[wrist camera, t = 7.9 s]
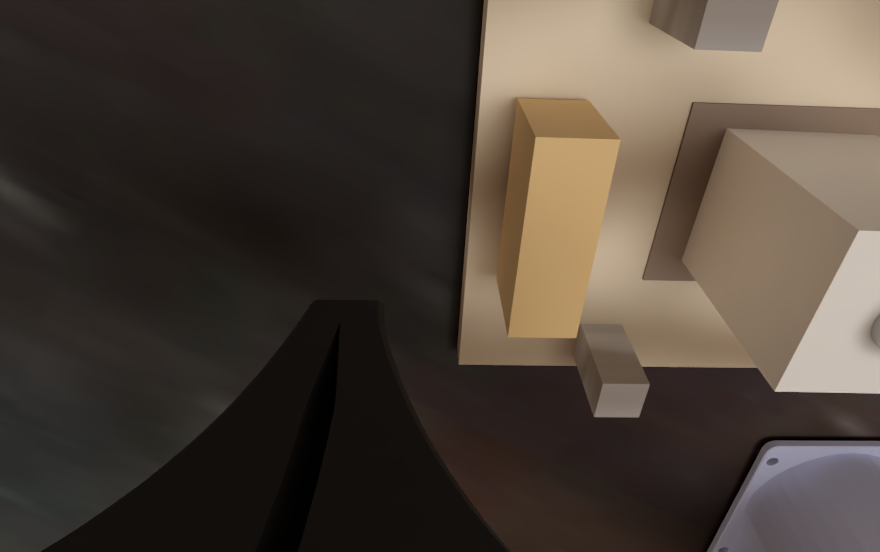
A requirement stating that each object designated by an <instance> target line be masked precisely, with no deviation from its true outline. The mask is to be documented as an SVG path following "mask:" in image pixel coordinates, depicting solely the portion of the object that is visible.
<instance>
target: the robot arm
mask: <svg viewBox="0 0 880 552" xmlns="http://www.w3.org/2000/svg"><path fill="white" fill-rule="evenodd" d="M41 552H510V551H509V549H508V548H507V547H506V546H505V545H504V543H503V542H502V541H501V540H500V539H499V538H498V536H497V535H496V534H495V533H494V532H493V530H492V529H491V528H490V526H489V525H488V524H487V523H486V521H485V520H484V519H483V518H482V516H481V515H480V514H479V512H478V511H477V510H476V509H475V507H474V506H473V505H472V503H471V502H470V500H469V499H468V497H467V496H466V495H465V493H464V492H463V490H462V489H461V487H460V486H459V485H458V483H457V482H456V480H455V479H454V477H453V476H452V475H451V473H450V472H449V470H448V469H447V467H446V466H445V464H444V462H443V461H442V459H441V458H440V456H439V454H438V453H437V451H436V449H435V448H434V446H433V444H432V443H431V441H430V439H429V437H428V435H427V434H426V432H425V430H424V428H423V426H422V424H421V422H420V420H419V419H418V417H417V414H416V412H415V410H414V408H413V406H412V404H411V402H410V400H409V397H408V395H407V393H406V391H405V388H404V386H403V383H402V381H401V379H400V376H399V373H398V370H397V368H396V365H395V362H394V359H393V356H392V353H391V350H390V347H389V343H388V339H387V335H386V331H385V326H384V306H383V305H382V304H381V303H380V302H379V301H367V300H315V301H314V302H313V303H312V304H310V306H309V308H308V309H307V311H306V312H305V314H304V315H303V317H302V318H301V320H300V321H299V322H298V324H297V325H296V327H295V328H294V329H293V331H292V332H291V334H290V335H289V336H288V338H287V339H286V340H285V342H284V343H283V344H282V346H281V347H280V348H279V349H278V350H277V352H276V353H275V354H274V355H273V357H272V358H271V359H270V360H269V362H268V363H267V364H266V365H265V367H264V368H263V369H262V370H261V372H260V373H259V374H258V375H257V376H256V377H255V378H254V379H253V381H252V382H251V383H250V384H249V385H248V386H247V387H246V388H245V389H244V391H243V392H242V393H241V394H240V395H239V396H238V397H237V398H236V399H235V400H234V402H233V403H232V404H231V405H230V406H229V407H228V408H227V409H226V410H225V411H224V412H223V413H222V414H221V415H220V416H219V417H218V418H217V419H216V420H215V421H214V422H213V423H212V424H211V425H210V426H208V427H207V428H206V429H205V430H204V431H203V432H202V433H201V434H200V435H199V436H198V437H197V438H196V439H194V440H193V441H192V442H191V443H190V444H189V445H188V446H186V447H185V448H184V449H183V450H182V451H181V452H179V453H178V454H177V455H176V456H175V457H173V458H172V459H171V460H170V461H169V462H168V463H166V464H165V465H164V466H163V467H162V468H160V469H159V470H158V471H157V472H155V473H154V474H153V475H152V476H150V477H149V478H148V479H147V480H145V481H144V482H143V483H141V484H140V485H139V486H138V487H136V488H135V489H133V490H132V491H131V492H129V493H128V494H126V495H125V496H124V497H122V498H121V499H119V500H118V501H117V502H115V503H114V504H113V505H111V506H110V507H108V508H107V509H106V510H104V511H103V512H101V513H100V514H99V515H97V516H96V517H94V518H93V519H91V520H90V521H88V522H87V523H85V524H84V525H82V526H81V527H79V528H78V529H76V530H75V531H73V532H72V533H70V534H69V535H67V536H65V537H64V538H62V539H61V540H59V541H57V542H56V543H54V544H52V545H51V546H49V547H48V548H46V549H44V550H43V551H41ZM707 552H880V441H796V440H775V441H770V442H767V443H766V444H764V446H763V447H762V448H761V450H760V452H759V454H758V456H757V458H756V460H755V462H754V464H753V465H752V467H751V469H750V471H749V473H748V475H747V477H746V479H745V481H744V482H743V484H742V486H741V488H740V490H739V492H738V494H737V496H736V498H735V499H734V501H733V503H732V505H731V507H730V509H729V511H728V513H727V515H726V516H725V518H724V520H723V522H722V524H721V526H720V528H719V530H718V532H717V534H716V535H715V537H714V539H713V541H712V543H711V545H710V547H709V549H708V551H707Z"/></svg>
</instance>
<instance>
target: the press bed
mask: <svg viewBox="0 0 880 552" xmlns="http://www.w3.org/2000/svg"><path fill="white" fill-rule="evenodd" d="M517 98H526V99H556V100H586V101H590V102H591V103H592V105H593V106H594V107H595V108H596V110H597V111H598V112H599V113H600V115H601V116H602V117H603V118H604V119H605V121H606V122H607V123H608V124H609V126H610V127H611V128H612V129H613V131H614V132H615V133H616V134H617V136H618V137H619V138H620V139H621V141H620V145H619V150H618V154H617V159H616V163H615V168H614V172H613V177H612V181H611V185H610V190H609V194H608V199H607V203H606V208H605V212H604V217H603V221H602V226H601V230H600V234H599V239H598V243H597V248H596V252H595V257H594V261H593V266H592V270H591V274H590V279H589V283H588V288H587V292H586V297H585V301H584V306H583V310H582V315H581V319H580V323H579V328H578V332H577V337H576V338H521V337H508V335H507V330H506V325H505V320H504V315H503V310H502V305H501V300H500V295H499V290H498V285H497V280H496V278H497V269H498V260H499V252H500V243H501V235H502V226H503V218H504V209H505V200H506V192H507V183H508V175H509V166H510V157H511V149H512V140H513V132H514V123H515V114H516V106H517ZM727 128H731V129H753V130H775V131H797V132H819V133H841V134H863V135H877V136H879V137H880V0H484V6H483V19H482V32H481V45H480V58H479V71H478V84H477V97H476V110H475V123H474V136H473V149H472V162H471V175H470V188H469V201H468V214H467V227H466V240H465V253H464V266H463V279H462V292H461V305H460V318H459V331H458V344H457V350H458V362H459V365H550V366H577V368H578V371H579V374H580V377H581V380H582V383H583V386H584V389H585V392H586V395H587V398H588V401H589V404H590V407H591V410H592V413H593V416H594V417H639V415H640V412H641V409H642V406H643V403H644V400H645V397H646V394H647V391H648V388H649V385H650V383H649V381H648V379H647V377H646V375H645V373H644V371H643V368H642V367H731V368H758V367H757V366H756V365H755V363H754V362H753V360H752V359H751V358H750V356H749V355H748V353H747V352H746V351H745V349H744V348H743V346H742V345H741V344H740V342H739V341H738V339H737V338H736V336H735V335H734V334H733V332H732V331H731V329H730V328H729V327H728V325H727V324H726V322H725V321H724V320H723V318H722V317H721V315H720V314H719V313H718V311H717V310H716V308H715V307H714V305H713V304H712V303H711V301H710V300H709V298H708V297H707V296H706V294H705V293H704V291H703V290H702V289H701V287H700V286H699V284H698V283H697V281H696V280H695V279H694V277H693V276H692V274H691V273H690V272H689V270H688V269H687V267H686V266H685V265H684V263H683V262H682V258H683V255H684V252H685V249H686V246H687V243H688V240H689V237H690V235H691V232H692V229H693V226H694V223H695V220H696V217H697V214H698V211H699V208H700V205H701V202H702V199H703V196H704V193H705V191H706V188H707V185H708V182H709V179H710V176H711V173H712V170H713V167H714V164H715V161H716V158H717V155H718V152H719V149H720V146H721V144H722V141H723V138H724V135H725V132H726V129H727Z"/></svg>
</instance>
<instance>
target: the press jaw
mask: <svg viewBox="0 0 880 552" xmlns="http://www.w3.org/2000/svg"><path fill="white" fill-rule="evenodd" d="M620 141H621V139H620V138H619V137H618V136H617V134H616V133H615V132H614V131H613V129H612V128H611V127H610V126H609V124H608V123H607V122H606V121H605V119H604V118H603V117H602V116H601V115H600V113H599V112H598V111H597V110H596V108H595V107H594V106H593V105H592V103H591V102H590V101H586V100H556V99H526V98H517V106H516V114H515V123H514V132H513V140H512V149H511V157H510V166H509V175H508V183H507V192H506V200H505V209H504V218H503V226H502V235H501V243H500V252H499V260H498V269H497V278H496V280H497V285H498V290H499V295H500V300H501V305H502V310H503V315H504V320H505V325H506V330H507V335H508V337H521V338H576V337H577V332H578V328H579V323H580V319H581V315H582V310H583V306H584V301H585V297H586V292H587V288H588V283H589V279H590V274H591V270H592V266H593V261H594V257H595V252H596V248H597V243H598V239H599V234H600V230H601V226H602V221H603V217H604V212H605V208H606V203H607V199H608V194H609V190H610V185H611V181H612V177H613V172H614V168H615V163H616V159H617V154H618V150H619V145H620Z"/></svg>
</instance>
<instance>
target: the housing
mask: <svg viewBox="0 0 880 552" xmlns="http://www.w3.org/2000/svg"><path fill="white" fill-rule="evenodd" d="M682 262H683V263H684V265H685V266H686V267H687V269H688V270H689V272H690V273H691V274H692V276H693V277H694V279H695V280H696V281H697V283H698V284H699V286H700V287H701V289H702V290H703V291H704V293H705V294H706V296H707V297H708V298H709V300H710V301H711V303H712V304H713V305H714V307H715V308H716V310H717V311H718V313H719V314H720V315H721V317H722V318H723V320H724V321H725V322H726V324H727V325H728V327H729V328H730V329H731V331H732V332H733V334H734V335H735V336H736V338H737V339H738V341H739V342H740V344H741V345H742V346H743V348H744V349H745V351H746V352H747V353H748V355H749V356H750V358H751V359H752V360H753V362H754V363H755V365H756V366H757V367H758V369H759V370H760V372H761V373H762V375H763V376H764V377H765V379H766V380H767V382H768V383H769V384H770V386H771V387H772V389H773V390H774V391H777V392H829V393H880V137H879V136H877V135H863V134H841V133H819V132H797V131H775V130H753V129H731V128H727V129H726V132H725V135H724V138H723V141H722V144H721V146H720V149H719V152H718V155H717V158H716V161H715V164H714V167H713V170H712V173H711V176H710V179H709V182H708V185H707V188H706V191H705V193H704V196H703V199H702V202H701V205H700V208H699V211H698V214H697V217H696V220H695V223H694V226H693V229H692V232H691V235H690V237H689V240H688V243H687V246H686V249H685V252H684V255H683V258H682Z"/></svg>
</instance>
